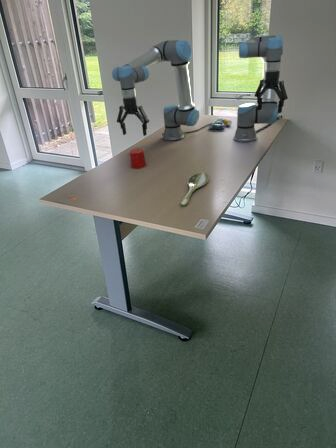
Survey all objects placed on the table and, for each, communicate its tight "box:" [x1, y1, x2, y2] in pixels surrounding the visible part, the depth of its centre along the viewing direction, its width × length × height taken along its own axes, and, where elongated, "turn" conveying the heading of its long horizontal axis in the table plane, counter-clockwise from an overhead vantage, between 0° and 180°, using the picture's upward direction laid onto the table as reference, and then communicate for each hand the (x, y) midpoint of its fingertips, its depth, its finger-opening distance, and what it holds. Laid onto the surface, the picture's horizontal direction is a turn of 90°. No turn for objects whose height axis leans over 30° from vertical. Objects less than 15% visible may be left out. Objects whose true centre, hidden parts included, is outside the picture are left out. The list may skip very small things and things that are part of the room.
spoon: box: [180, 171, 210, 207], centre depth 170 cm, size 35×11×2 cm, turn 159°
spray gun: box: [209, 118, 233, 130], centre depth 263 cm, size 21×4×15 cm
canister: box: [128, 148, 146, 170], centre depth 203 cm, size 9×9×10 cm
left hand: (134, 134), depth 196 cm, fingers open, 13 cm apart
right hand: (269, 111), depth 190 cm, fingers open, 13 cm apart
